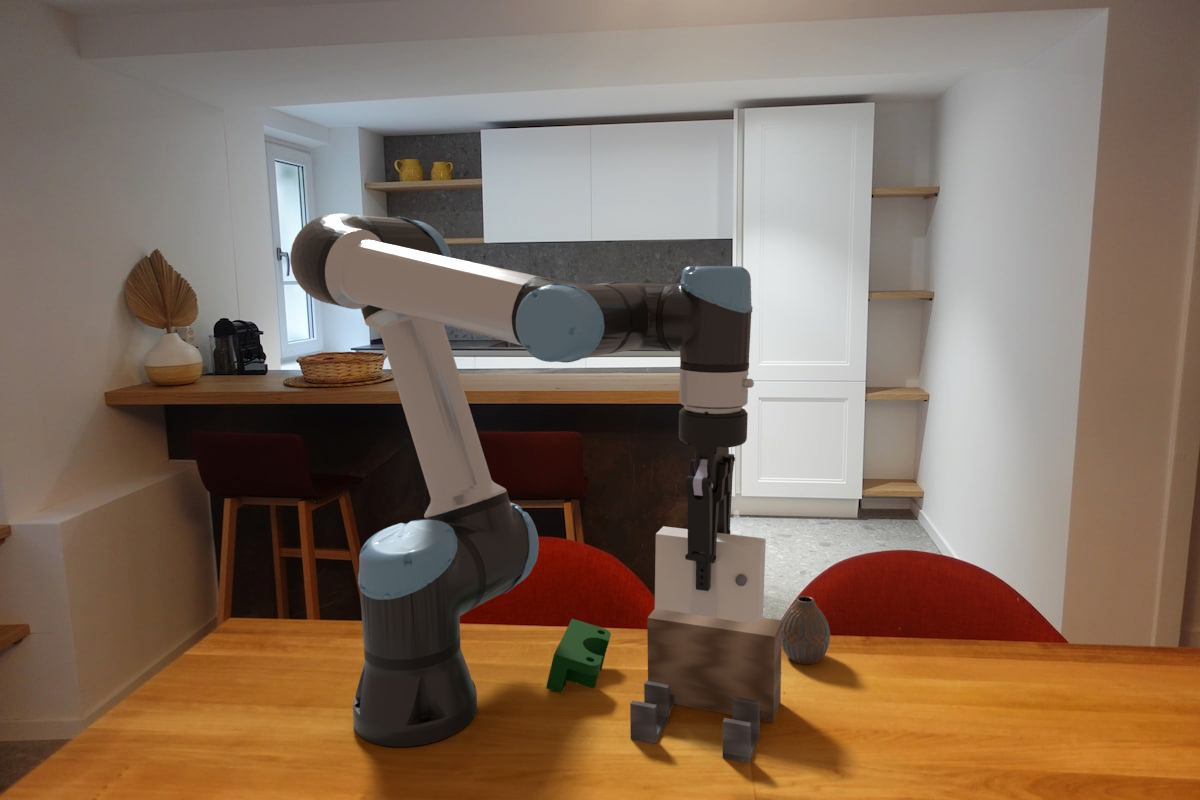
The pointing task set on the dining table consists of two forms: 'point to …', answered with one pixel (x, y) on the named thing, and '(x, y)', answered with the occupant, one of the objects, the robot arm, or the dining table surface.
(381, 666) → the robot arm
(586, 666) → the clamp
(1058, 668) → the dining table surface
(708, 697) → the cabinet
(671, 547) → the door
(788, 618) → the vase
